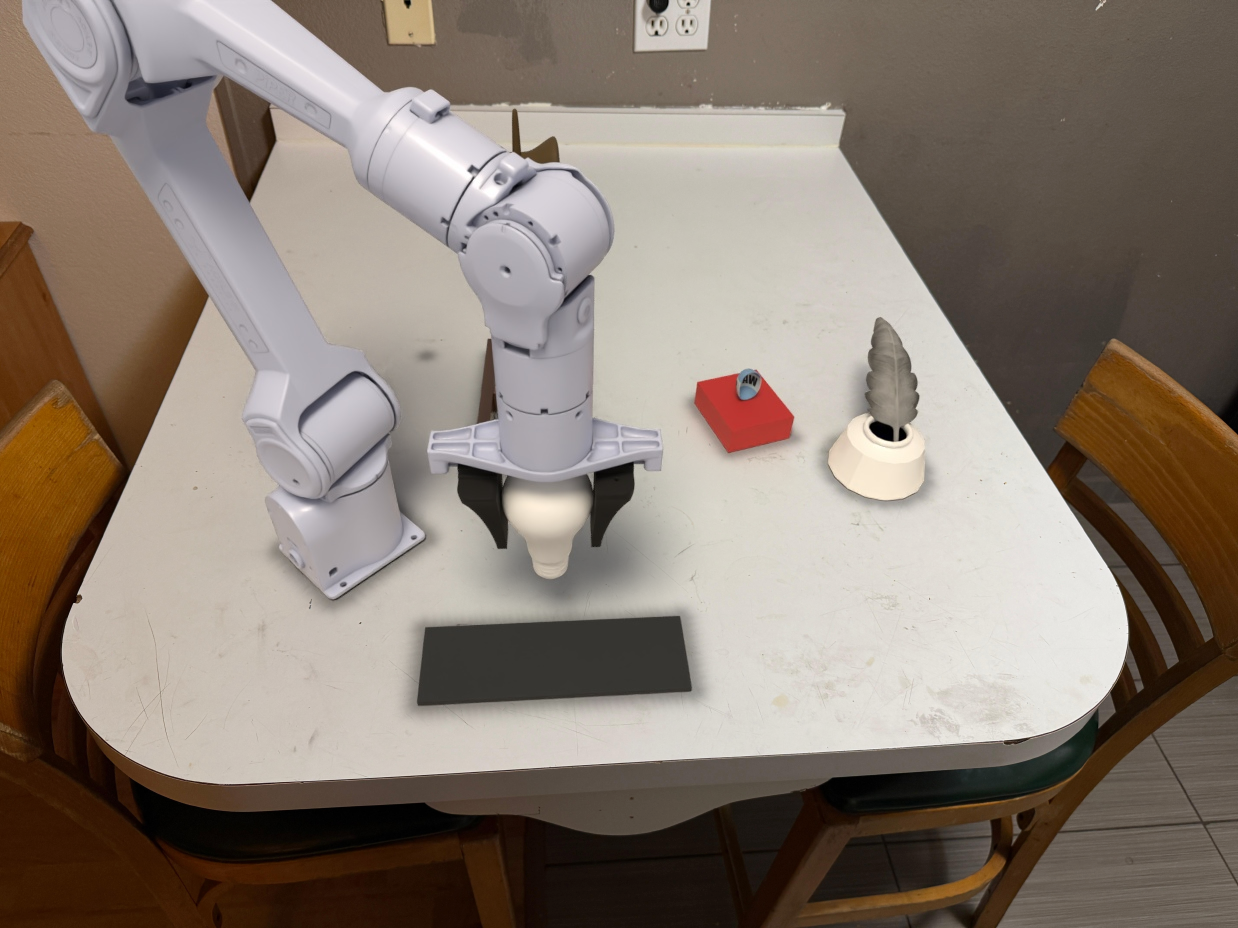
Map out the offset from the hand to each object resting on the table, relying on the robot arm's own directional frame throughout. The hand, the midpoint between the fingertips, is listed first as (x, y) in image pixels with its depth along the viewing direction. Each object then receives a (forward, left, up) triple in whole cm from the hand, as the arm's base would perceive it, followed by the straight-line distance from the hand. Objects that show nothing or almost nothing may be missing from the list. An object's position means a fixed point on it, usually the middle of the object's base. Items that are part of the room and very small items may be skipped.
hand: (549, 537), depth 57 cm
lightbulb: (0, 0, -4) cm, 4 cm away
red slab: (+31, +4, -11) cm, 33 cm away
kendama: (+35, +41, -11) cm, 55 cm away
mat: (-2, -2, -10) cm, 11 cm away
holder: (+17, +21, -10) cm, 29 cm away
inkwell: (+38, -6, -11) cm, 40 cm away
